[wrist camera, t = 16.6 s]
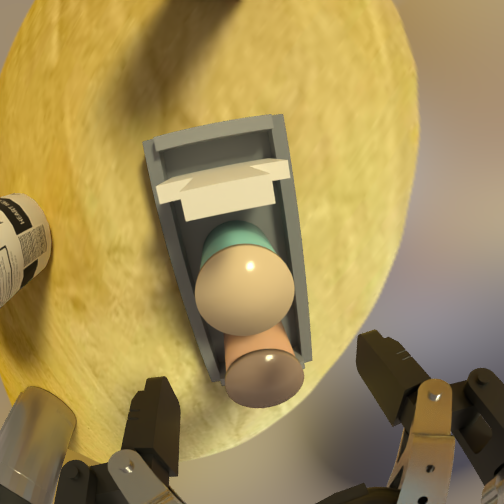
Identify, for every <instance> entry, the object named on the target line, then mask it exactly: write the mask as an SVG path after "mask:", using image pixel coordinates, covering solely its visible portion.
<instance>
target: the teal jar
mask: <svg viewBox="0 0 504 504" xmlns="http://www.w3.org/2000/svg"><path fill="white" fill-rule="evenodd" d="M293 298H294V281H293V277H292V275H291V272H290V270H289V269H288V267H287V266H286V264H285V262H284V261H283V260H282V259H281V258H280V257H279V256H278V255H277V254H276V252H275V250H274V249H273V247H272V245H271V244H270V242H269V240H268V239H267V237H266V236H265V234H264V233H263V231H262V230H261V229H260V228H258V227H257V226H256V225H254V224H252V223H250V222H247V221H242V220H232V221H227V222H224V223H222V224H220V225H218V226H217V227H215V228H214V229H213V230H212V231H211V232H210V233H209V234H208V236H207V237H206V239H205V241H204V244H203V249H202V256H201V265H200V271H199V274H198V277H197V280H196V286H195V300H196V305H197V308H198V310H199V312H200V314H201V315H202V317H203V318H204V319H205V321H206V322H207V323H208V324H210V325H211V326H212V327H214V328H215V329H217V330H219V331H221V332H223V333H226V334H230V335H236V336H249V335H254V334H258V333H261V332H264V331H266V330H268V329H270V328H272V327H273V326H275V325H276V324H277V323H279V322H280V321H281V320H282V319H283V317H284V316H285V315H286V314H287V312H288V311H289V309H290V307H291V305H292V302H293Z"/></svg>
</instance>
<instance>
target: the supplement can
mask: <svg viewBox="0 0 504 504" xmlns="http://www.w3.org/2000/svg"><path fill="white" fill-rule="evenodd" d="M51 243H52V240H51V235H50V228H49V224H48V222H47V220H46V217H45V215H44V212H43V210H42V209H41V208H40V207H39V205H38V204H37V203H36V202H35V200H34V199H32V198H30V197H29V196H27V195H25V194H21V193H13V194H9V195H6V196H3V197H0V308H1V307H2V306H3V305H4V304H5V303H6V302H7V301H8V300H9V299H10V298H12V297H13V296H14V295H15V294H16V293H17V292H18V291H19V290H20V289H21V288H23V287H24V286H25V285H26V284H27V283H28V282H29V281H31V280H32V279H33V278H34V277H35V276H36V275H38V274H39V273H40V272H41V271H42V270H43V269H44V268H45V267H46V265H47V262H48V260H49V258H50V254H51Z"/></svg>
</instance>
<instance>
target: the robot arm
mask: <svg viewBox="0 0 504 504" xmlns="http://www.w3.org/2000/svg"><path fill="white" fill-rule="evenodd" d="M356 366H357V370H358V372H359V374H360V376H361V377H362V379H363V380H364V382H365V384H366V385H367V387H368V388H369V390H370V391H371V393H372V395H373V396H374V398H375V399H376V401H377V403H378V404H379V406H380V407H381V409H382V410H383V412H384V414H385V415H386V417H387V419H388V420H389V422H390V423H391V425H392V427H393V426H396V425H398V424H400V423H402V425H403V426H404V429H403V433H402V437H401V442H400V446H399V450H398V454H397V458H396V462H395V465H394V469H393V471H392V474H391V476H390V479H389V481H388V484H387V487H370V488H366V486H365V484H364V483H362V484H360V485H357V486H354V487H351V488H349V489H346V490H343V491H340V492H337V493H334V494H333V495H331V496H329V497H327V498H325V499H324V500H322V501H320V502H318V503H316V504H446V499H447V495H448V490H449V484H450V479H451V472H452V465H453V458H454V449H455V448H454V447H455V438H456V439H457V441H458V443H459V444H460V446H461V447H462V449H463V451H464V452H465V454H466V455H467V457H468V459H469V460H470V462H471V464H472V465H473V467H474V469H475V470H476V472H477V474H478V475H479V477H480V479H481V481H482V482H483V484H484V486H485V487H484V489H483V491H482V499H481V504H504V384H503V383H502V382H501V380H499V378H498V377H497V376H496V375H495V374H494V373H493V372H492V371H490V370H488V369H486V368H477V369H475V370H473V371H472V372H471V373H470V374H469V377H468V379H467V380H465V381H462V382H457V383H454V384H448V383H447V382H445V381H443V380H441V379H431V378H430V377H429V375H428V374H427V373H426V372H425V371H424V370H423V369H422V367H421V366H420V365H419V364H418V363H417V362H416V361H415V360H414V359H413V357H411V355H410V354H409V353H408V352H407V351H405V348H404V347H403V346H402V345H401V344H400V343H399V342H398V341H396V340H394V339H392V338H390V337H387V338H383V337H382V335H381V334H380V333H379V332H378V331H377V330H372V331H369V332H366V333H362V334H360V335H358V339H357V354H356ZM180 414H181V412H180V405H179V402H178V399H177V397H176V395H175V393H174V391H173V389H172V387H171V385H170V383H169V381H168V379H167V378H166V377H165V376H163V377H154V378H148V379H147V380H146V385H145V389H144V391H138V392H137V394H136V395H135V396H134V398H133V399H132V401H131V405H130V412H129V414H128V420H127V423H126V428H125V432H124V437H123V442H122V447H121V450H120V451H118V452H116V453H114V454H113V455H112V456H111V458H110V459H109V462H107V463H104V464H99V465H95V466H90V467H89V466H87V465H86V464H85V463H84V462H82V461H80V460H72V461H69V462H67V463H66V464H65V465H64V466H63V467H62V464H63V461H64V458H65V455H66V451H67V448H68V445H69V442H70V439H71V436H72V433H73V431H74V428H75V425H76V418H75V416H74V414H73V412H72V411H71V410H70V409H69V407H68V406H67V405H66V404H64V403H63V402H62V401H61V400H60V399H58V398H57V397H56V396H54V395H53V394H51V393H49V392H47V391H45V390H43V389H41V388H37V387H27V388H26V389H25V391H24V392H23V393H20V395H19V396H18V398H17V400H16V402H15V403H14V405H13V407H12V409H11V411H10V413H9V415H8V417H7V418H6V420H5V422H4V425H3V426H2V428H1V430H0V504H52V502H53V497H54V493H55V490H56V486H57V482H58V487H57V491H56V497H55V503H54V504H186V503H185V502H184V501H183V500H182V499H181V498H180V496H179V495H178V494H177V493H176V492H175V491H174V490H173V489H172V488H171V487H170V486H169V477H174V476H178V460H179V433H180ZM480 414H481V415H480ZM482 417H483V418H484V419H483V418H482ZM485 421H486V422H487V423H486V422H485ZM488 425H489V426H490V427H489V426H488ZM450 432H452V433H453V435H451V433H450ZM454 436H455V437H454ZM61 468H62V469H61ZM60 471H61V472H60ZM59 475H60V477H59ZM58 478H59V481H58Z"/></svg>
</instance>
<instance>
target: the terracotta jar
mask: <svg viewBox="0 0 504 504" xmlns="http://www.w3.org/2000/svg"><path fill="white" fill-rule="evenodd" d="M223 336H224V350H225V363H226V374H225V388H226V392H227V394H228V396H229V397H230V398H231V399H232V400H233V401H234V402H236V403H238V404H240V405H242V406H245V407H250V408H267V407H272V406H275V405H278V404H281V403H283V402H285V401H287V400H289V399H290V398H291V397H293V396H294V395H295V394H296V393H297V392H298V391H299V389H300V388H301V386H302V384H303V381H304V372H303V369H302V367H301V364H300V362H299V360H298V359H297V358H296V357H295V354H294V352H293V349H292V347H291V344H290V342H289V339H288V336H287V334H286V331H285V329H284V326H283V324H282V321H280V322H279V323H277V324H276V325H275V326H273V327H272V328H270V329H268V330H266V331H264V332H261V333H258V334H254V335H249V336H236V335H230V334H226V333H223Z"/></svg>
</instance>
